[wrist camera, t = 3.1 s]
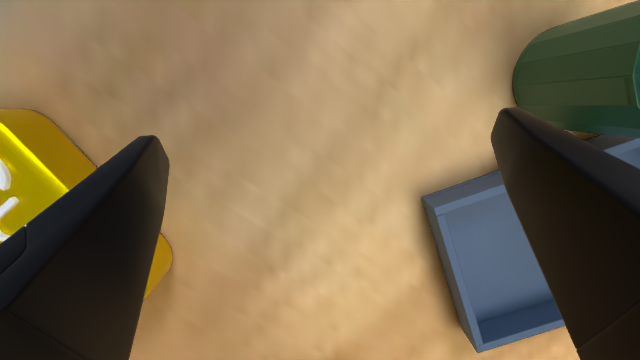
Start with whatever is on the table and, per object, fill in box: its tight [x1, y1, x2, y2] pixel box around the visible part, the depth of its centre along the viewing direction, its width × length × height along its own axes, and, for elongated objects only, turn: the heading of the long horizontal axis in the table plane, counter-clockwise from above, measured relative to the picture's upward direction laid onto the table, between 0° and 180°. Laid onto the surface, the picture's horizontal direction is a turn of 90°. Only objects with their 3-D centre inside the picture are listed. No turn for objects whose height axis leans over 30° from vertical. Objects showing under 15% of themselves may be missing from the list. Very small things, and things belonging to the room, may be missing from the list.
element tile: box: [0, 109, 172, 301], centre depth 24 cm, size 15×15×5 cm
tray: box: [421, 134, 640, 353], centre depth 25 cm, size 11×16×3 cm
